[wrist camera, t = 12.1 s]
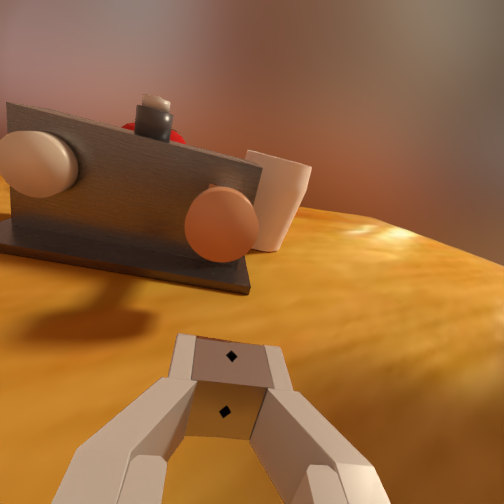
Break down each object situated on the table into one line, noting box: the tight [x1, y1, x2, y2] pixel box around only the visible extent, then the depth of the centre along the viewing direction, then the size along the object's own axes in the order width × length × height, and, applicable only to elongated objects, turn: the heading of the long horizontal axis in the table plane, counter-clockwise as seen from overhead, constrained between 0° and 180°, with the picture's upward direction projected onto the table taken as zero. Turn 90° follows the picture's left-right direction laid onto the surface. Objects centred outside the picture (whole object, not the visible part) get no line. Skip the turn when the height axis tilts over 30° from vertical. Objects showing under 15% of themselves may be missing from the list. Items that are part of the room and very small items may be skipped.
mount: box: [0, 102, 263, 295], centre depth 27 cm, size 10×23×11 cm, turn 96°
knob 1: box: [0, 131, 78, 198], centre depth 26 cm, size 9×5×5 cm, turn 6°
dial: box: [134, 94, 173, 142], centre depth 26 cm, size 3×3×4 cm
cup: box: [245, 150, 312, 252], centre depth 39 cm, size 9×9×12 cm
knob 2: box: [184, 187, 259, 262], centre depth 24 cm, size 9×5×5 cm, turn 6°
